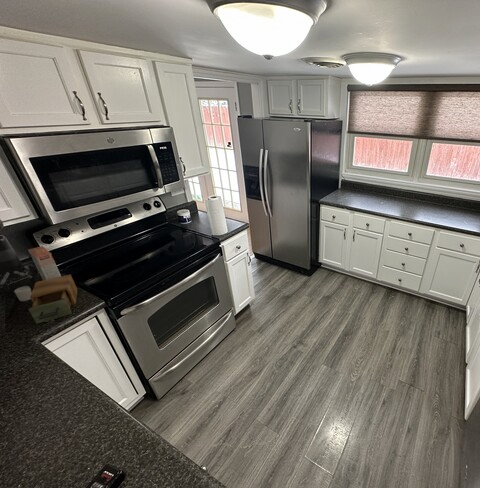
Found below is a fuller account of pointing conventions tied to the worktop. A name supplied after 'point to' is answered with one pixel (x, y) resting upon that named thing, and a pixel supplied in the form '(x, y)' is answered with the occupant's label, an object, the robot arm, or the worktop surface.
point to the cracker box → (44, 263)
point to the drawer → (51, 306)
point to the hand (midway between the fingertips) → (21, 286)
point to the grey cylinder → (23, 293)
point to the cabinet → (55, 287)
